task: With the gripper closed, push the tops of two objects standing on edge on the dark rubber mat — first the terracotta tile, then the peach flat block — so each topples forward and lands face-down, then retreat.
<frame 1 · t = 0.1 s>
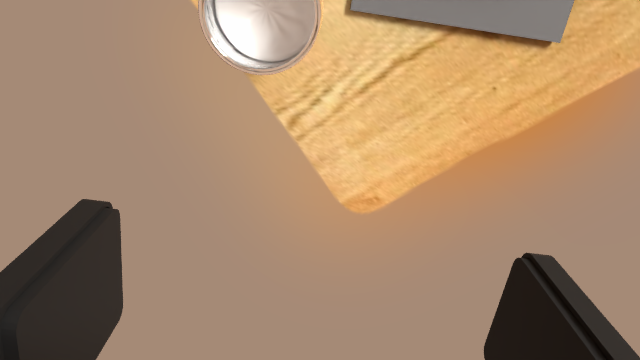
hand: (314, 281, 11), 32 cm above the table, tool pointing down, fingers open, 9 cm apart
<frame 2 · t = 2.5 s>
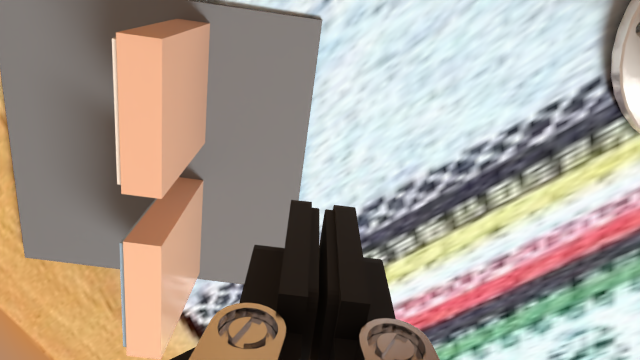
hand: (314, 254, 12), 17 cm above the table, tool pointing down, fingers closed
peach flat block: (187, 226, 30), point 1 cm above the table, touching rubber mat
rubber mat: (160, 148, 29), on the table
terracotta tile: (191, 83, 27), point 1 cm above the table, touching rubber mat
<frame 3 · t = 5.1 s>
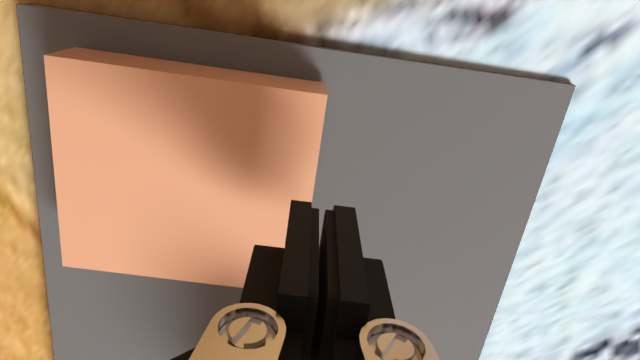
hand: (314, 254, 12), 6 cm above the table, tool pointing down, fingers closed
rubber mat: (276, 271, 19), on the table
terracotta tile: (312, 192, 15), point 2 cm above the table, tilted 90°, touching rubber mat
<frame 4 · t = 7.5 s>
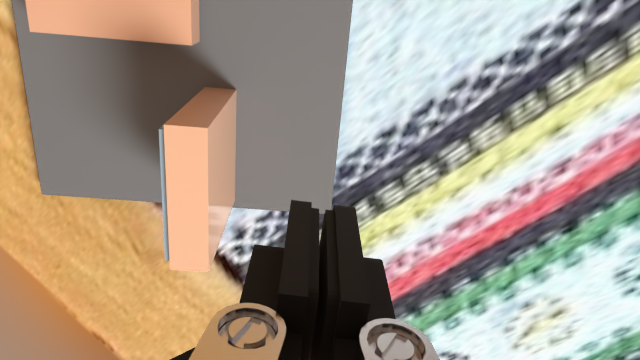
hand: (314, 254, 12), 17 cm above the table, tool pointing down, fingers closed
peach flat block: (220, 146, 28), point 1 cm above the table, touching rubber mat
rubber mat: (187, 57, 26), on the table
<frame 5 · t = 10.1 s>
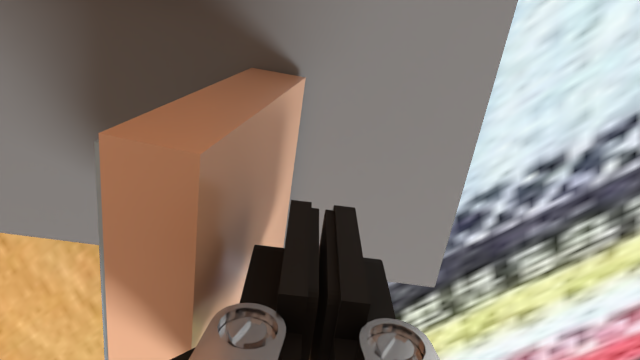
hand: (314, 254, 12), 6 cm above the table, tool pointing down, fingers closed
peach flat block: (267, 172, 16), point 1 cm above the table, tilted 10°, touching rubber mat
rubber mat: (224, 12, 15), on the table
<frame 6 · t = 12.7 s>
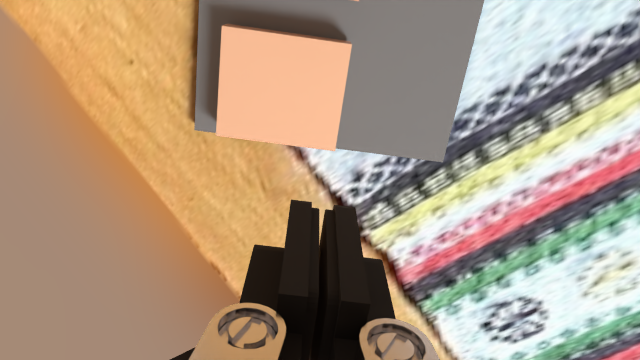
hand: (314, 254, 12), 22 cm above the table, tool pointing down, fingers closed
peach flat block: (342, 97, 31), point 2 cm above the table, tilted 90°, touching rubber mat
rubber mat: (339, 14, 30), on the table
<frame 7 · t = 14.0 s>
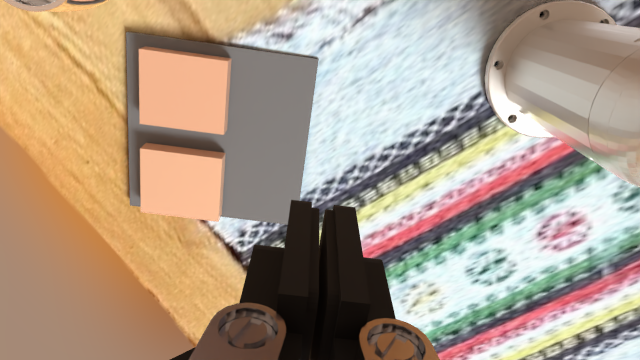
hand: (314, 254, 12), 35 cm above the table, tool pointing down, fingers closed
peach flat block: (221, 187, 48), point 2 cm above the table, tilted 90°, touching rubber mat
rubber mat: (219, 135, 47), on the table
terracotta tile: (227, 97, 44), point 2 cm above the table, tilted 90°, touching rubber mat
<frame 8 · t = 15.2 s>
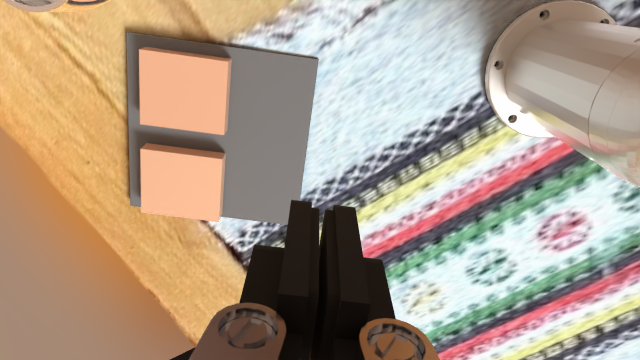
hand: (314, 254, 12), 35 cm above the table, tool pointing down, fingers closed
peach flat block: (222, 187, 48), point 2 cm above the table, tilted 90°, touching rubber mat
rubber mat: (219, 135, 47), on the table
terracotta tile: (227, 97, 44), point 2 cm above the table, tilted 90°, touching rubber mat
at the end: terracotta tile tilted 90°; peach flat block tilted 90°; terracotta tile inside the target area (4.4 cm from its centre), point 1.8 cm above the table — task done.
